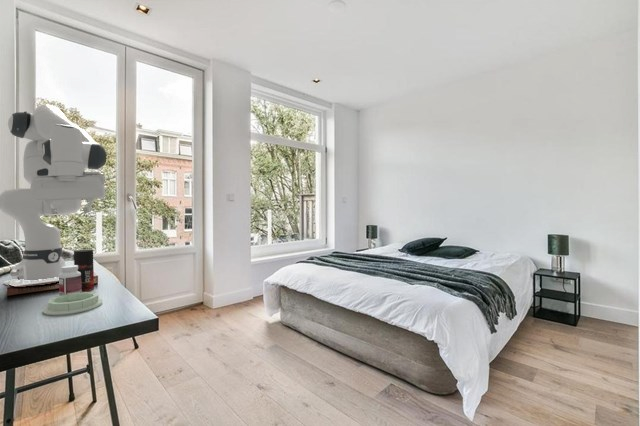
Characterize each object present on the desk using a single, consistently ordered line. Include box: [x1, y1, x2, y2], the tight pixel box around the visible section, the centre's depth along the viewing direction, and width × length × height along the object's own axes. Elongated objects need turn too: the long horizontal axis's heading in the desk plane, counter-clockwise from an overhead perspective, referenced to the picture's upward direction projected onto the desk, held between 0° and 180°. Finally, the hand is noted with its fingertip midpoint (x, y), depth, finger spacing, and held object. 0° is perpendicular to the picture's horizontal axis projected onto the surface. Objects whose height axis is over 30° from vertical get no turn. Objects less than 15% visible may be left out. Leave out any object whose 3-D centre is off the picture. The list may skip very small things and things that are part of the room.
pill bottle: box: [58, 264, 83, 296], centre depth 111 cm, size 6×6×11 cm
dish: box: [42, 291, 103, 316], centre depth 101 cm, size 15×15×3 cm
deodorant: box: [73, 248, 95, 292], centre depth 122 cm, size 6×6×15 cm
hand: (70, 213), depth 107 cm, fingers open, 8 cm apart
